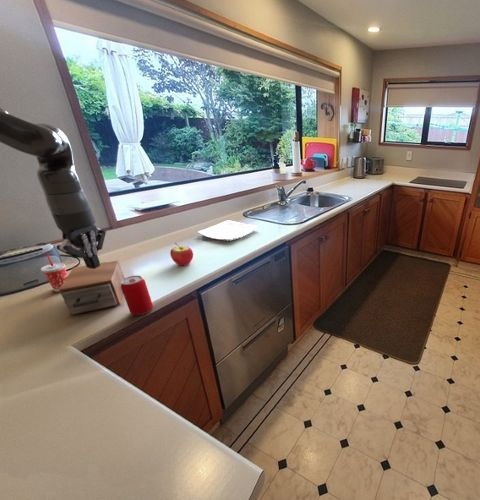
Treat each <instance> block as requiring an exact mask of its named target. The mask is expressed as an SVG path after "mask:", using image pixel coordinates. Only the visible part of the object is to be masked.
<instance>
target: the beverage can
mask: <svg viewBox="0 0 480 500" xmlns="http://www.w3.org/2000/svg"><path fill="white" fill-rule="evenodd" d="M124 278H125V279H124V280H122V282H121V283H122V284H121V289H122V292H123V297H124V299H125V302H126V306H127V308H128V311H129V313H130V314H131V315H132V316H133V315H134V316H142V315H145V314H147V313H149V312H150V311H151V310H152V309H153V307H154V305H153V302H152V298H151V295H150V291H149V288H148V286H147V283H146V280H145V279H144V278H143V277H142V276H141V275H131V276H128V277H124Z"/></svg>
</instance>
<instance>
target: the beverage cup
mask: <svg viewBox="0 0 480 500" xmlns="http://www.w3.org/2000/svg"><path fill="white" fill-rule="evenodd" d="M45 255H46V257H47V258H48V262H49V264H46V265H43V266H42V267H41V268H40V271H41V273H43V274H44V276H45V278H46V279H47V281H48V283H49V285H50V287H51V288H52V290H53V291H54V292H58V293H59V292H60V290H59V289H60V288H61V286H62V285H63V283H64V282H65V280H66V278H67V277H68V275H69V273H68V271H67V269H66V264H65V263H64V262H53V261H52V259H51V257H50V255H49V253H45Z"/></svg>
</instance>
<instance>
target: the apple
mask: <svg viewBox="0 0 480 500" xmlns="http://www.w3.org/2000/svg"><path fill="white" fill-rule="evenodd" d="M174 245H176V246H175V247H172V248H171V249H170V252H169V254H170V258H171V260H172V261H173V262H174V263H175V264H176V265H179V266H185V265H188V264H190V263H191V262H192V260H193V259H194V251H193V250H192V248H191V247H189V246H186V245H178V243H176V242H174Z"/></svg>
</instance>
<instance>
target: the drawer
mask: <svg viewBox="0 0 480 500" xmlns="http://www.w3.org/2000/svg"><path fill="white" fill-rule="evenodd" d="M62 295H63V297H62V299H63V298H64V299H63V301H64V300H65V301H64V303H65V302H66V303H65V305H66V304H67V305H66V307H67V306H68V307H67V309H68V308H69V309H68V311H69V310H70V312H71V314H74V315H77V314H76V313H78V314H81V313H80V312H83V313H86V312H85V311H88V312H91V311H90V310H92V311H95V310H94V309H97V310H100V309H99V308H102V309H105V308H104V307H106V308H109V307H108V306H111V307H114V306H113V305H116V306H118V305H117V301H116V299H115V296H114V293H113V291H112V288H111V285H110V283H106V284H100V285H95V286H89V287H84V288H78V289H73V290H68V291H65V292H63V293H62ZM62 295H61V296H62ZM70 312H69V313H70ZM71 314H70V315H71Z"/></svg>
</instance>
